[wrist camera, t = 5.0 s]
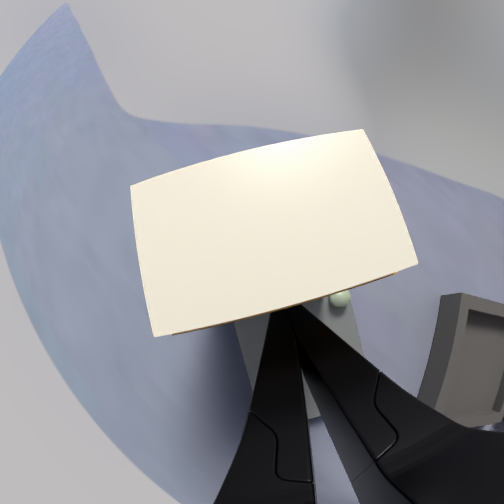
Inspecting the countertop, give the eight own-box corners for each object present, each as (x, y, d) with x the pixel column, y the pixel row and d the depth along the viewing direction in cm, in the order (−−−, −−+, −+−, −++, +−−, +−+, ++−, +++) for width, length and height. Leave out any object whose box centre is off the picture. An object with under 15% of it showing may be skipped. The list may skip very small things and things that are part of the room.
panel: (365, 392, 13) (375, 400, 12) (264, 423, 13) (263, 434, 12) (322, 226, 15) (328, 217, 14) (219, 253, 15) (213, 247, 14)
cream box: (325, 293, 13) (421, 265, 4) (225, 320, 13) (152, 340, 4) (308, 235, 14) (363, 127, 5) (211, 260, 14) (128, 184, 5)
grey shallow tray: (484, 415, 12) (501, 421, 9) (408, 420, 12) (425, 432, 10) (509, 312, 13) (528, 311, 11) (441, 295, 14) (461, 292, 12)
